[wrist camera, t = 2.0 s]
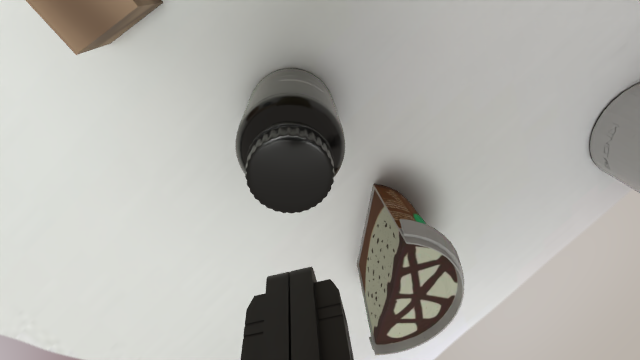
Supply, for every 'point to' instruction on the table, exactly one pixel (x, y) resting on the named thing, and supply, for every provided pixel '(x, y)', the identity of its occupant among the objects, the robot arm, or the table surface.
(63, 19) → the walnut block
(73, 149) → the table surface
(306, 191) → the supplement bottle
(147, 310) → the table surface
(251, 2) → the table surface
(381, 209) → the food container
